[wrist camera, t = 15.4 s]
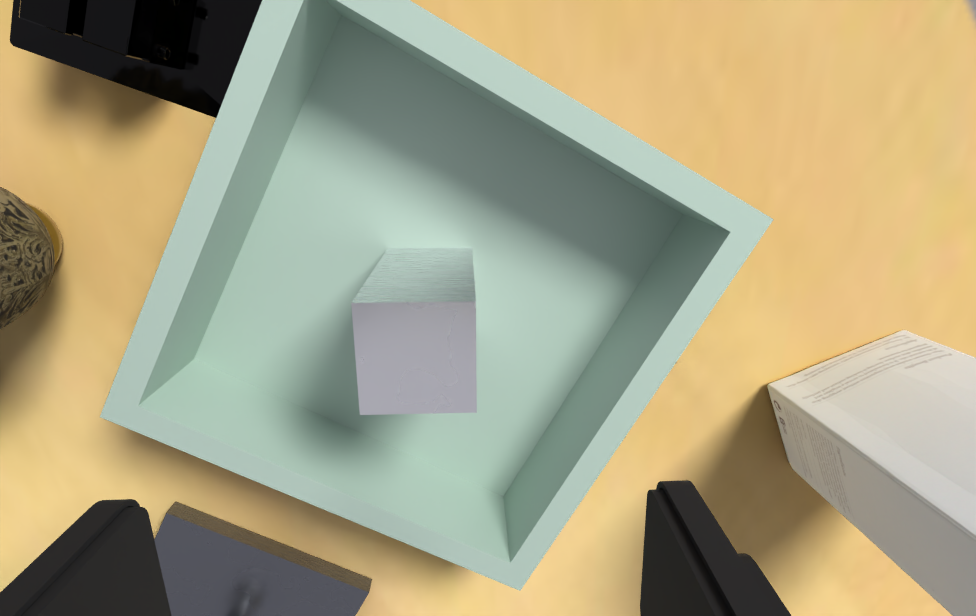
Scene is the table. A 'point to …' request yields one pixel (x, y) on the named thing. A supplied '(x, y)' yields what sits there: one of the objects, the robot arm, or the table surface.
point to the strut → (417, 333)
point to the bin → (421, 224)
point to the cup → (24, 255)
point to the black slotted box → (143, 42)
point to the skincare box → (894, 453)
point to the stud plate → (247, 572)
